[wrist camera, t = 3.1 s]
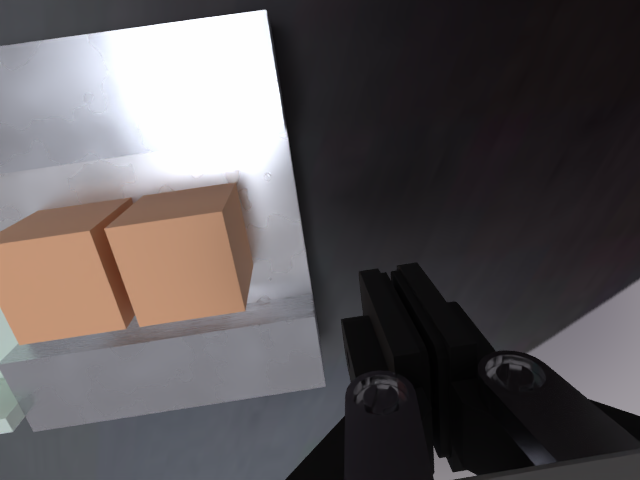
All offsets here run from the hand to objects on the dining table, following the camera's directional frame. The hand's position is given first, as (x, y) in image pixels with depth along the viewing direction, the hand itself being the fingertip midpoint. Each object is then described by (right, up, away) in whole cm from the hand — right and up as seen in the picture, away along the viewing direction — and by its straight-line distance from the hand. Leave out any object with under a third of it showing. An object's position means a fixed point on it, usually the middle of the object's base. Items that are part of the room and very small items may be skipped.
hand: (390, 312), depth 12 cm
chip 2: (-7, +2, +6) cm, 10 cm away
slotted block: (-10, +3, +8) cm, 13 cm away
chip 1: (-12, +2, +6) cm, 14 cm away
